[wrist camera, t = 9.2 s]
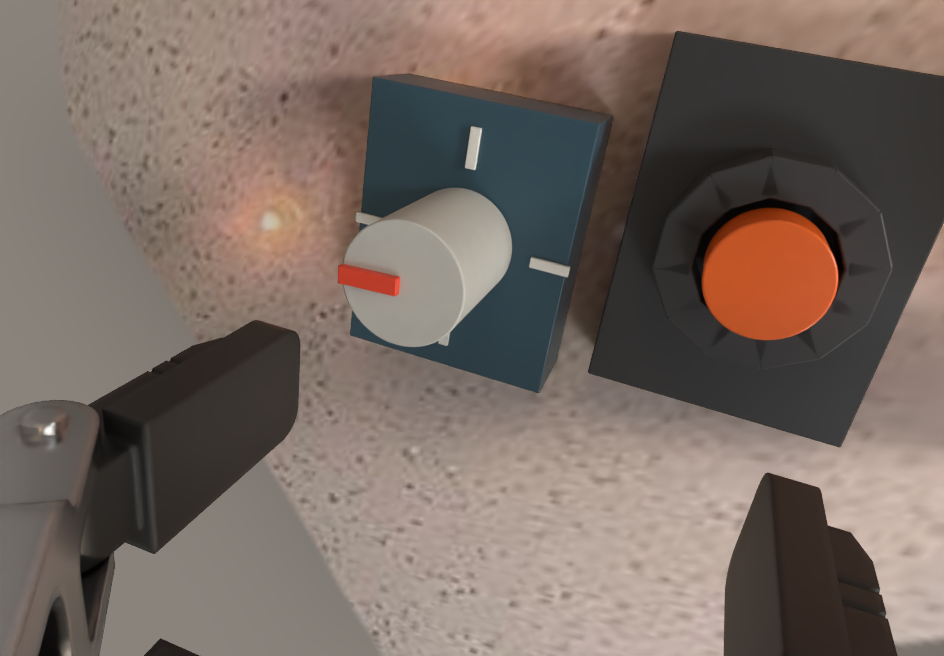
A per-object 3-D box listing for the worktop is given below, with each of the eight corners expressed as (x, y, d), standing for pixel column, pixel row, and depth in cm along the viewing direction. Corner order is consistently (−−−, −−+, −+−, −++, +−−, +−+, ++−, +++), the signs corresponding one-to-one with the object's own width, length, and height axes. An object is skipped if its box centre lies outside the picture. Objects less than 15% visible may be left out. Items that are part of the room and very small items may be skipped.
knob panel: (558, 362, 29) (540, 396, 26) (380, 310, 31) (345, 336, 28) (616, 116, 25) (602, 124, 22) (405, 72, 27) (367, 76, 24)
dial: (519, 198, 24) (468, 236, 19) (505, 306, 25) (454, 365, 21) (411, 178, 25) (338, 209, 20) (404, 283, 26) (334, 334, 22)
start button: (806, 333, 22) (811, 355, 20) (689, 303, 23) (686, 322, 21) (850, 222, 20) (859, 237, 19) (723, 195, 21) (722, 206, 20)
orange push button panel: (832, 418, 26) (848, 477, 23) (597, 351, 28) (577, 394, 25) (981, 82, 21) (1031, 91, 17) (680, 31, 23) (671, 29, 20)
